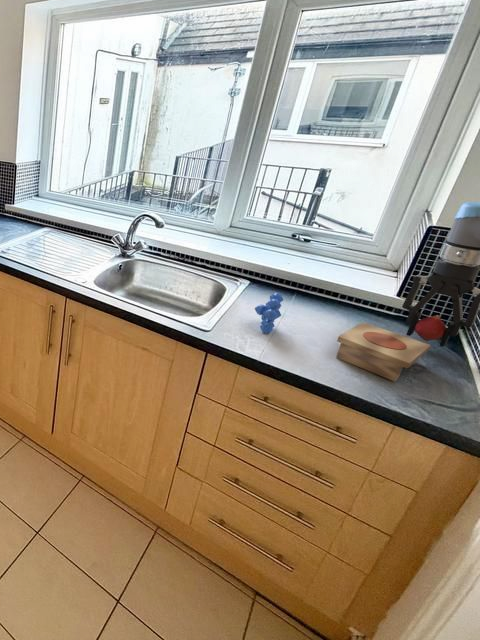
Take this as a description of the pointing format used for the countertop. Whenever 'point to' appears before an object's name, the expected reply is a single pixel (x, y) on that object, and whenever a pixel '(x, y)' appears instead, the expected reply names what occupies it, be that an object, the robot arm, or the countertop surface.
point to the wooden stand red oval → (379, 350)
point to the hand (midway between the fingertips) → (425, 339)
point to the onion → (430, 328)
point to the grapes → (269, 312)
